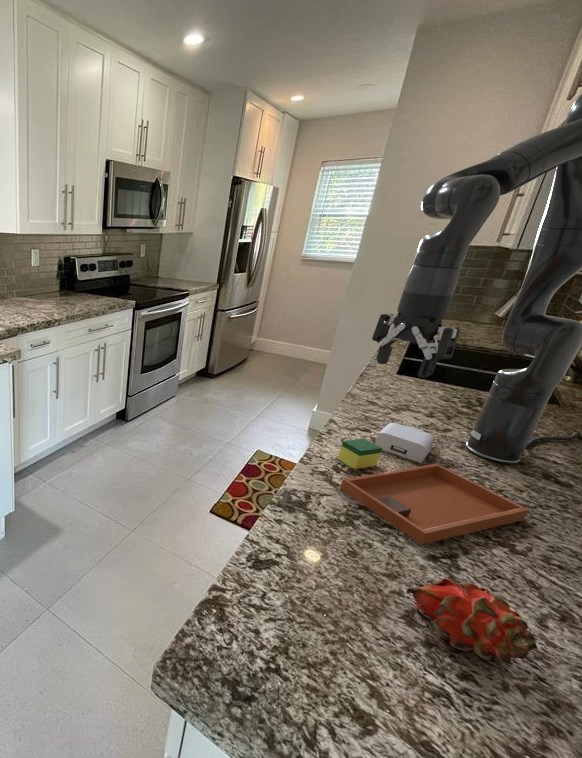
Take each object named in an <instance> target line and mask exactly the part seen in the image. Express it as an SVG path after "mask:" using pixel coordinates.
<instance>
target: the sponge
mask: <svg viewBox="0 0 582 758" xmlns="http://www.w3.org/2000/svg"><path fill="white" fill-rule="evenodd" d="M382 451H383V450H382V448H381V447H379V446H377V445H375V442H374V443H373V442H372V441H369V440H368V439H366V438H363V437H362V438H355V439H348V440H342V443H341V446H340V450H339V453H338V457H337V459H338V460H340V462H343V463H344V464H346V465H348V466H349V467H351V468H353V469H355V470H359V469H366V468H370V467H371V468H372V467H377V465H378V462H379V459H380V456H381V454H382Z"/></svg>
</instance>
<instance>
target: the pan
mask: <svg viewBox="0 0 582 758" xmlns="http://www.w3.org/2000/svg"><path fill="white" fill-rule="evenodd" d="M339 489H340V490H341V491H343V493H345V494H346V495H348V496H350V497H351V498H353V500H355V501H357V502H358V503H359V504H361V505H363V506H364V507H365V508H367V509H369V510H370V511H371V512H373V513H374V514H376V515H377V516H378V517H380V518H382V519H383V520H384V521H386V522H387V523H389V524H390V525H392V526H393V527H394V528H396V529H397V530H398V531H401V532H402V533H403V534H405V535H406V536H408V537H409V538H410V539H412V540H414V541H415V542H416V543H418V544H419V545H425V544H429V543H434V542H438V541H442V540H445V539H451V538H454V537H458V536H463V535H467V534H471V533H476V532H479V531H484V530H488V529H493V528H496V527H499V526H504V525H509V524H512V523H516V522H517V523H518V522H520V521H521V522H522V521H524V520H525V519H526V516H527V515H528V513H529V511H530V509H528V508H526V507H525V506H523V505H520V504H518V503H516V502H514V501H513V500H511V499H509V498H506V497H505V496H502V495H501V494H499V493H497V492H494V491H492V490H490V489H489V488H486V487H485V486H483V485H481V484H479V483H477V482H474V481H472V480H470V479H469V478H466V477H465V476H463V475H461V474H459V473H457V472H455V471H452V470H451V469H449V468H447V467H445V466H443V465H441V464H439V463H432V464H425V465H420V466H414V467H408V468H403V469H395V470H390V471H384V472H377V473H372V474H365V475H360V476H355V477H349V478H343V479H342V482H341V485H340V487H339ZM388 496H391V497H393V498H394V499H396V500H398V501H399V502H401V503H402V504H404V505H405V506H407V507H409V508H410V509H411V512H410V515H409V516H406V517H404V516H402V515H401V514H399V513H398V512H396V511H394V510H393V509H391V508H390V507H388V506H387V505H385V504H384V503H382V502H381V501H379V500H378V499H377V498H383V497H388Z"/></svg>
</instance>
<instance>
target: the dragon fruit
mask: <svg viewBox="0 0 582 758" xmlns="http://www.w3.org/2000/svg"><path fill="white" fill-rule="evenodd" d="M405 594H407V595H410V594H412V597H413V598H414V601H415V603H417V604H414V605H413V609H414V611H416V614H417V615H418V616H420V617H421V620H423V621H425V623H427V624H428V625H431V627H430V628H431V632H432V633H434V634H439V635H442V632H446V633H447V634H448V635H449V636H450V641H449V645H450V647H453V648H454V649H456V650H460V651H463V652H469V651H473V653H474V654H476V655H478V657H480V658H482V659H484V660H486V661H489V660H490V659H491V658H492V655H493V656H494V657H495V658H496V659H498V660H499V661H500V662H502V663H503V664H505V665H509V666H513V665H514V663H513V662H512V661H511V659H520V660H524V659H525V658H527V656H529V653H530V652H529V651H533V650H537V649H538V646H537V639H536V638H535V635H534V634H533V633H532V632H531V630H528V629H529V626H528V624H527V622H526V621H525V620H524V619H523V617H522V616H521V615H520V613H519V612H518V611H516V610H511V607H510V604H509V603H508V601H506V600H505V599H504V598H503V597H502V596H501V595H499V594H498V593H492V592H491V593H490V591H489V590H488V588H485V587H479V586H478V585H477V584H475V583H473V582H468V581H461V582H460V583H459V582H457V581H455V580H453V579H450V578H447V577H446V578H442V579H439V581H436V582H433V583H428V584H425V585H424V584H423V585H420V586H415V587H411V588H406V592H405ZM420 611H422V612H420ZM429 618H430V619H429ZM458 645H465V646H458ZM487 654H488V655H487Z"/></svg>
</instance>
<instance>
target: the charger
mask: <svg viewBox="0 0 582 758" xmlns="http://www.w3.org/2000/svg"><path fill="white" fill-rule="evenodd" d="M435 440H436V436H434V435H433V434H431V433H428V432H427V431H423V430H421V429H419V428H416V427H412V426H408V425H407V426H406V425H403V424H400V423H397V422H389V423H388V424H387V425H386V426H385V427H383V429H382V430H381V431H379V432H378V434H377V436H376V439H375V441H374V444H375V445H377V446H379V447H381V448H382V450H381V451H384V452H388V453H391V454H393V455H397V456H399V457H403V458H404V459H408V460H410V461H414V462H417V463H420V464H422V463H423V462H424V460H425V459H426V457H427V456H428V455H429V453H430V451H432V448H433V446H434V442H435Z"/></svg>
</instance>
